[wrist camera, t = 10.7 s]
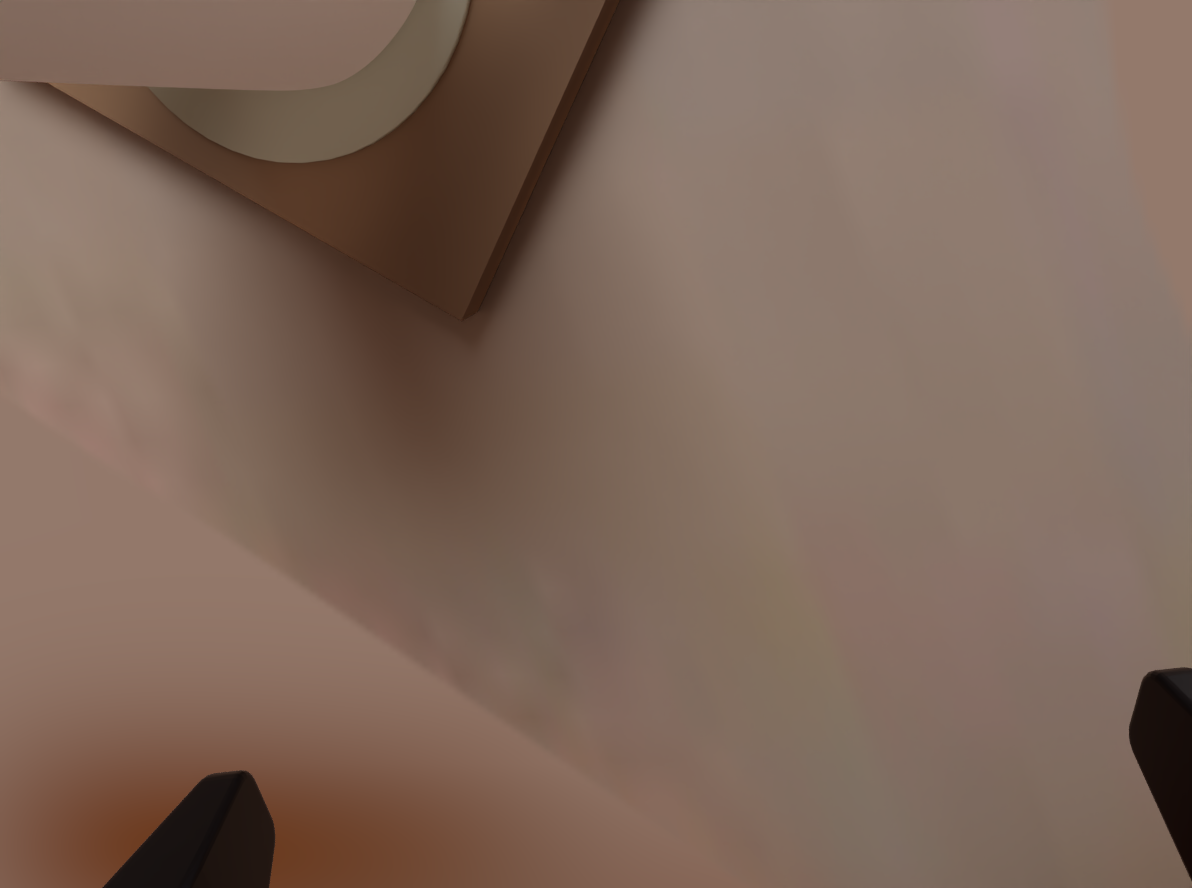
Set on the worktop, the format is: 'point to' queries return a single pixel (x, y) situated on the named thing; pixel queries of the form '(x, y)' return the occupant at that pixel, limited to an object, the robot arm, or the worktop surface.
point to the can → (195, 41)
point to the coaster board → (396, 138)
